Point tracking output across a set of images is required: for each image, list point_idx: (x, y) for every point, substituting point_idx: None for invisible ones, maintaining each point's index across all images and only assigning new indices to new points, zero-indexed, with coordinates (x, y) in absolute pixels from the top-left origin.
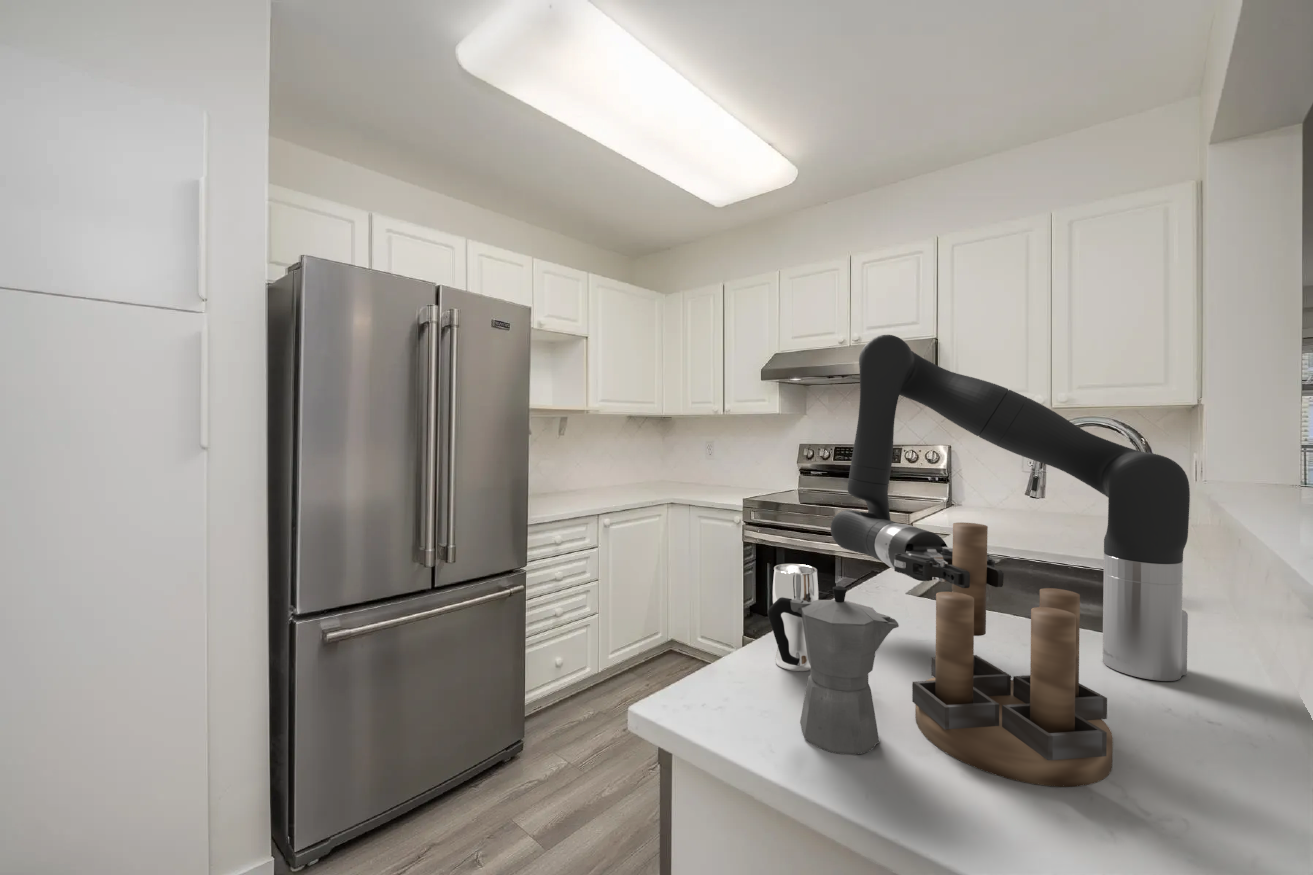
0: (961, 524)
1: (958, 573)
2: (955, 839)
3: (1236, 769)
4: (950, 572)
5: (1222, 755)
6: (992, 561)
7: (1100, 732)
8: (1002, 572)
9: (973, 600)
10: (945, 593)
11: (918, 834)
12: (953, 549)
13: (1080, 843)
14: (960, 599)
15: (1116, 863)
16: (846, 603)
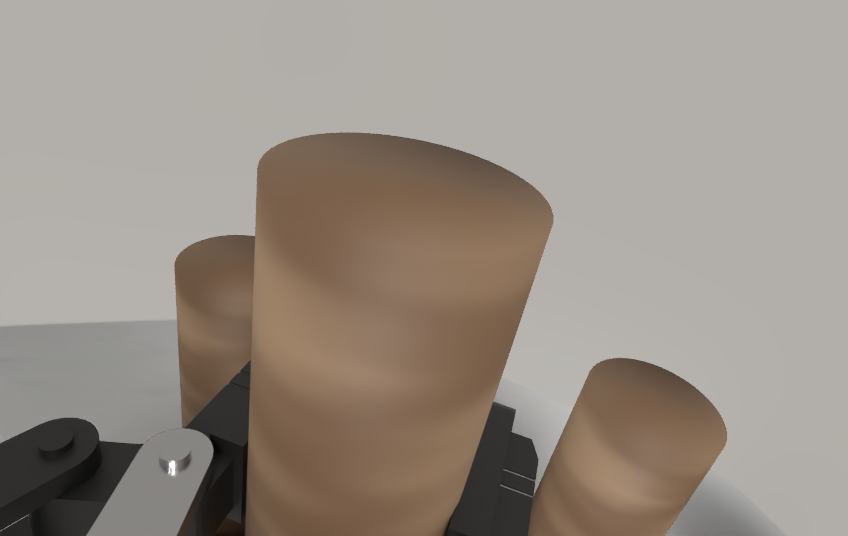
0: (458, 213)
1: (521, 444)
2: None
3: (142, 363)
4: (532, 493)
5: (95, 379)
6: (89, 422)
7: None
8: None
9: (610, 360)
10: (672, 438)
11: (740, 518)
12: (481, 426)
13: (536, 416)
14: (655, 379)
15: (526, 389)
16: None
